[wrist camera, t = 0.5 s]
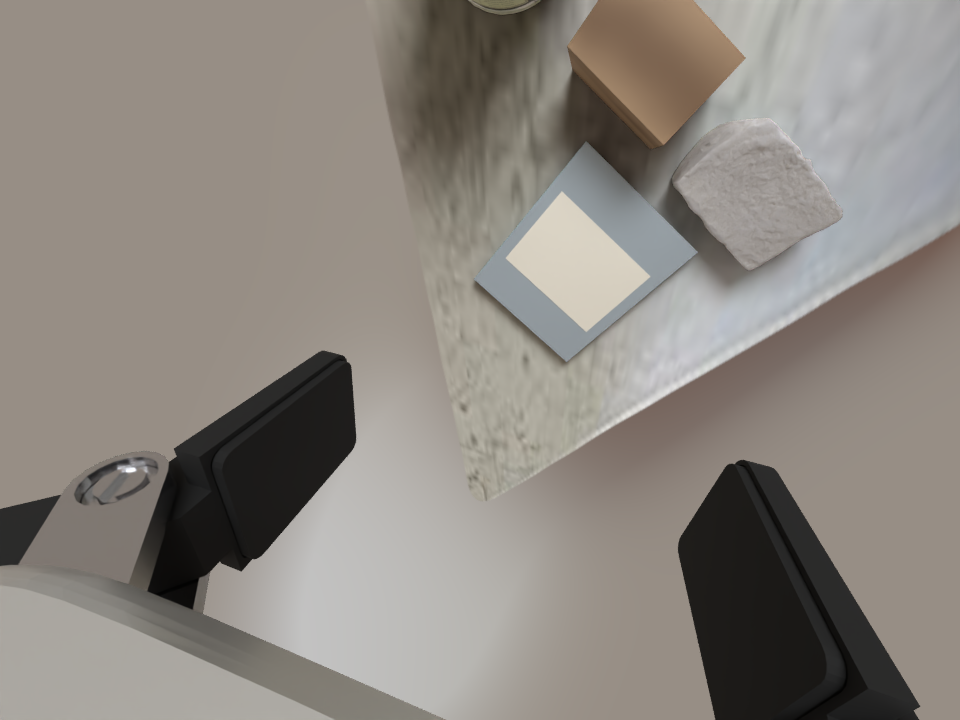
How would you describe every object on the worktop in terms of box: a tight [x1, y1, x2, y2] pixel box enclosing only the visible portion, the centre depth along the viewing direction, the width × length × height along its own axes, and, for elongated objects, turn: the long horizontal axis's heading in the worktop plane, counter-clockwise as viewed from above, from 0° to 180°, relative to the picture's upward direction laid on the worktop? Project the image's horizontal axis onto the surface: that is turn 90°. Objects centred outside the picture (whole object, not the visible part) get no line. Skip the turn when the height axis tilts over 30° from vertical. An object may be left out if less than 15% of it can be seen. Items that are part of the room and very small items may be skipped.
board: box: [474, 141, 698, 362], centre depth 31 cm, size 14×12×1 cm
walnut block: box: [567, 0, 745, 149], centre depth 22 cm, size 5×8×6 cm, turn 52°
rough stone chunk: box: [672, 118, 843, 271], centre depth 25 cm, size 10×6×6 cm, turn 43°
